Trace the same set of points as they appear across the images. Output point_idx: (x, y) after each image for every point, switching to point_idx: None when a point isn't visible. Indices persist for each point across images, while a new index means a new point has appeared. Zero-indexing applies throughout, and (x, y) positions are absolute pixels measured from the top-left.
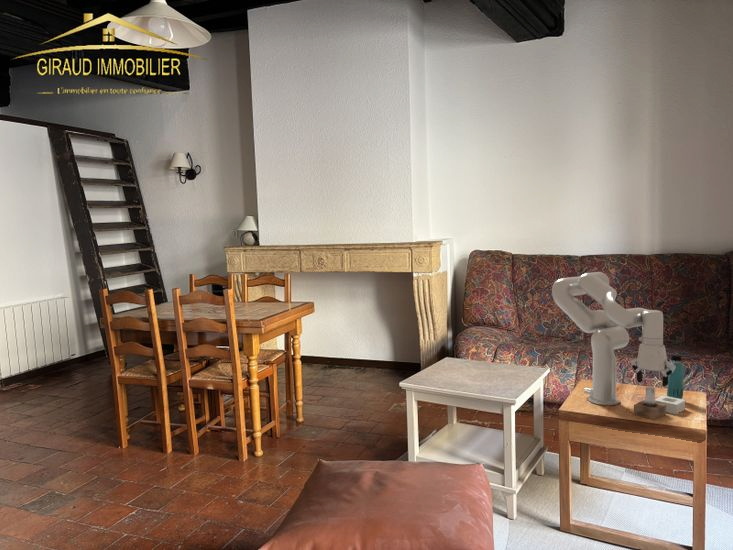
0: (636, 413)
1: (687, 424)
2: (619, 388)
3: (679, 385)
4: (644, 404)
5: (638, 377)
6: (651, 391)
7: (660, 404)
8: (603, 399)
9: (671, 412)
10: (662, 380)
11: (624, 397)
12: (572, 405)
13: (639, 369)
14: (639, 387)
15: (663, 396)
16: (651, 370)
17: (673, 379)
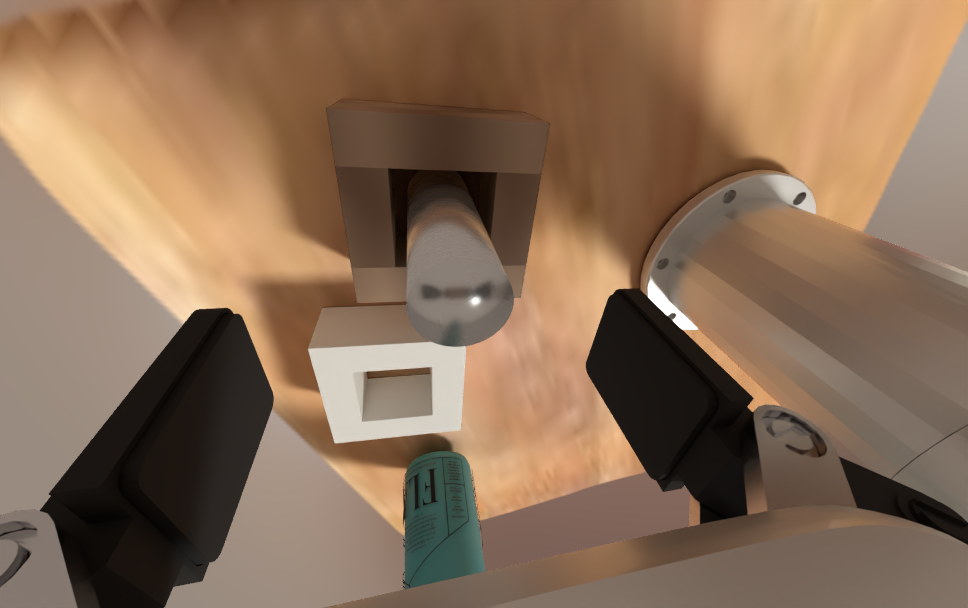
0: (506, 111)
1: (117, 153)
2: None
3: (411, 533)
4: (489, 229)
5: (671, 333)
6: (428, 252)
7: (389, 284)
8: (748, 209)
9: (352, 309)
10: (181, 390)
11: None
12: (941, 18)
13: (789, 488)
14: (588, 480)
15: (449, 420)
16: (444, 590)
17: (441, 559)
